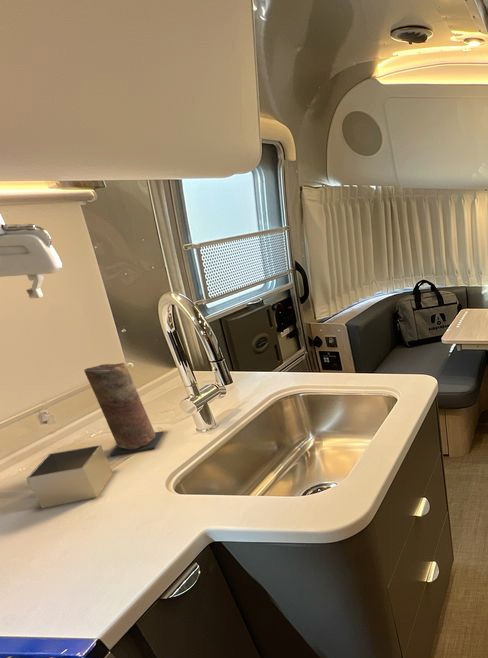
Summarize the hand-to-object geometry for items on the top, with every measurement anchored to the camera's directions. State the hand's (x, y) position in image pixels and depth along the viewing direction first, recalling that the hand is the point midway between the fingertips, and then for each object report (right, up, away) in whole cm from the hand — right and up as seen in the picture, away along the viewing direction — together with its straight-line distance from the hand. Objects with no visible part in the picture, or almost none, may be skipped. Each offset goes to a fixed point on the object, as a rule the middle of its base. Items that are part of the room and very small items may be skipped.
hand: (5, 300), depth 94 cm
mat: (+8, -31, +22) cm, 39 cm away
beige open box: (+9, -38, +5) cm, 40 cm away
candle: (+8, -30, +22) cm, 38 cm away
